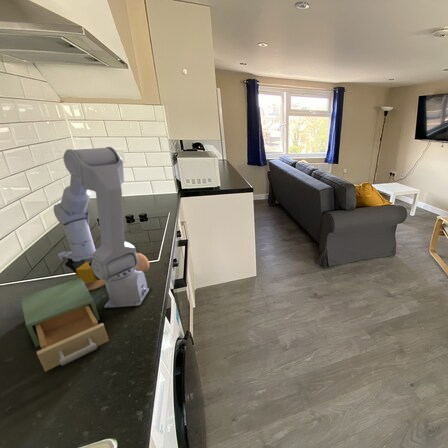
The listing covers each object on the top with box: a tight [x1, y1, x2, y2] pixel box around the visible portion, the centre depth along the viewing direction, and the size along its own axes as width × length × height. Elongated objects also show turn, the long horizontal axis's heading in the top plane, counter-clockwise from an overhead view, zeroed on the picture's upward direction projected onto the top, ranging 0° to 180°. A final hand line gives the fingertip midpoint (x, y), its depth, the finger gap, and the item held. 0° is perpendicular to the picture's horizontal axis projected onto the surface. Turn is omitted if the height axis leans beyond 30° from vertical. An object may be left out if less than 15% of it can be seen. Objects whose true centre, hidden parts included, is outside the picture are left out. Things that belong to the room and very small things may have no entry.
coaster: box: [83, 279, 106, 292], centre depth 85 cm, size 9×9×1 cm
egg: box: [135, 252, 150, 275], centre depth 89 cm, size 7×7×8 cm
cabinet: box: [19, 278, 101, 348], centre depth 69 cm, size 15×13×7 cm
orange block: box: [76, 261, 97, 282], centre depth 84 cm, size 5×5×5 cm
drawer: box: [35, 305, 110, 372], centre depth 61 cm, size 18×11×5 cm, turn 48°
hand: (92, 278), depth 85 cm, fingers closed on orange block, 5 cm apart
